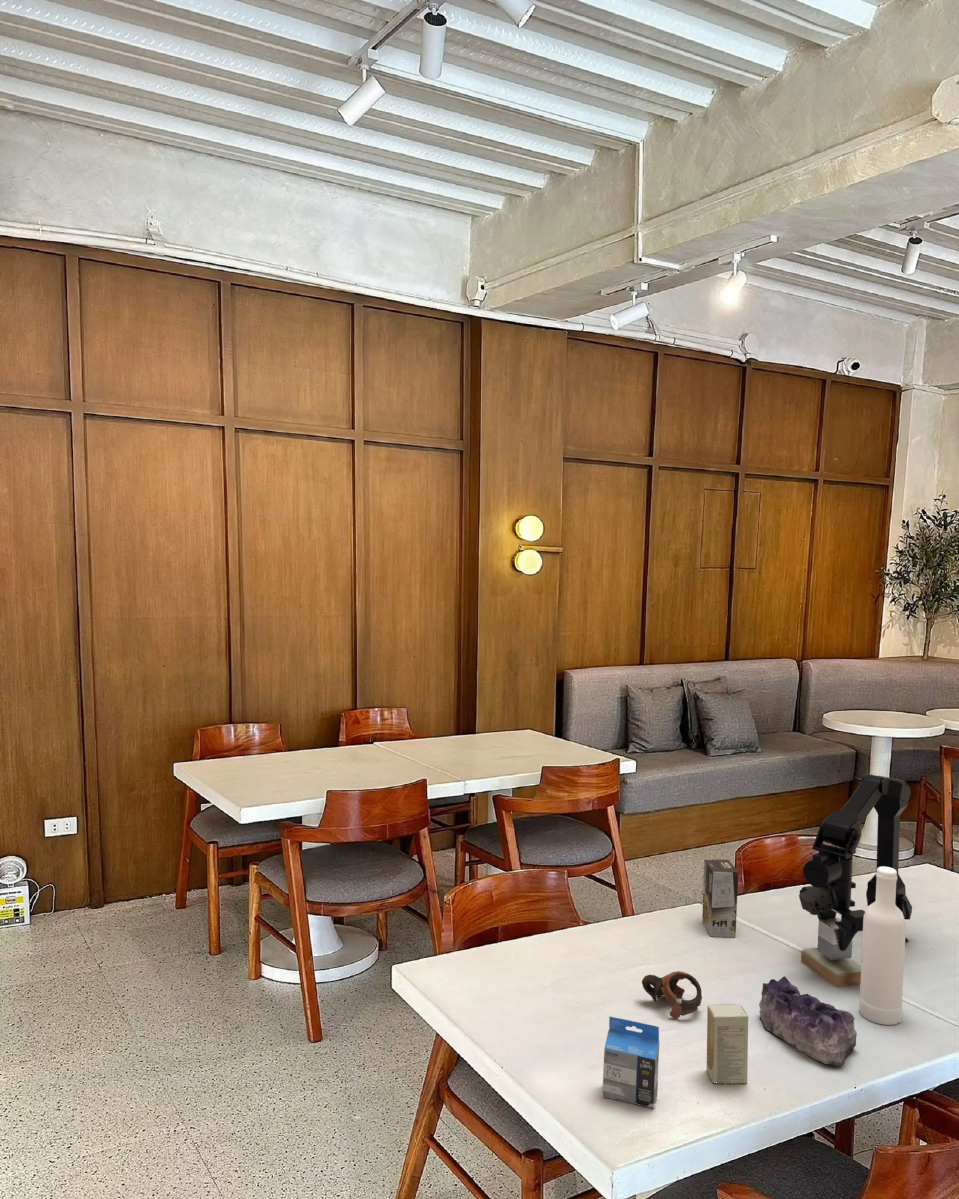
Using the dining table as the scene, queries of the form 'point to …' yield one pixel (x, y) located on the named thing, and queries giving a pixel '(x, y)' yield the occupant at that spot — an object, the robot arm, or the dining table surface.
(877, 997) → the bottle
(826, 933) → the block
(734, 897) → the coffee box
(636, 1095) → the label tape box
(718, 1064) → the skincare box
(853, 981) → the riser
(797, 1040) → the geode
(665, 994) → the brown curved loop piece
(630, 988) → the dining table surface
